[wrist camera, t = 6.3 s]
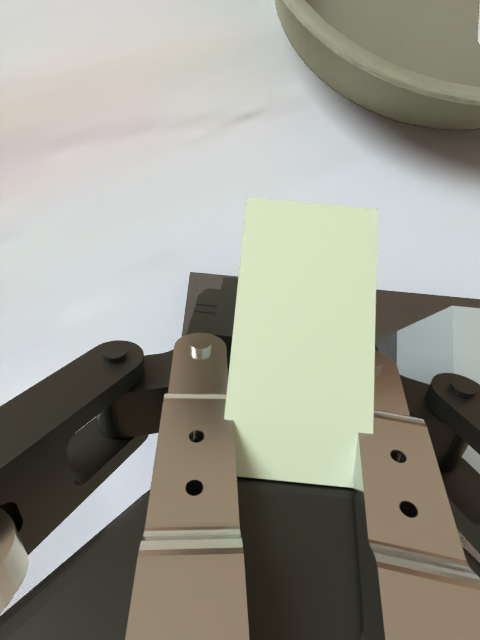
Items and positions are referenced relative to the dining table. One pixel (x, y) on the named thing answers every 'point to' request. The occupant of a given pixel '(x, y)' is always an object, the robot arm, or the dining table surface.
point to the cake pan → (394, 55)
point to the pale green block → (303, 341)
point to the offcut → (443, 351)
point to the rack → (390, 309)
